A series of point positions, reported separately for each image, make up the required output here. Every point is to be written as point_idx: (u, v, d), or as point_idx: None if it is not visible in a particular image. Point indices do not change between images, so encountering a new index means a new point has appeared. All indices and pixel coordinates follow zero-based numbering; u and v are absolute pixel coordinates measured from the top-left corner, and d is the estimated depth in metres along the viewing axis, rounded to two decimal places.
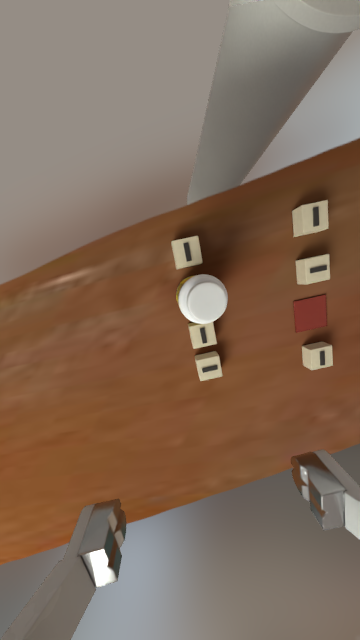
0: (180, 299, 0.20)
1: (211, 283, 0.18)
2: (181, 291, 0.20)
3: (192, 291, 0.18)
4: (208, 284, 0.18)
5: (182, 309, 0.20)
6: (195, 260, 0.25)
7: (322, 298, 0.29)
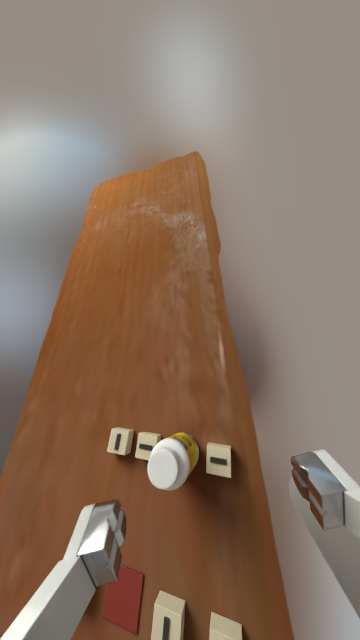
0: (174, 442, 0.25)
1: (175, 478, 0.21)
2: (180, 445, 0.24)
3: (174, 457, 0.22)
4: (175, 475, 0.21)
5: (166, 440, 0.25)
6: (209, 466, 0.28)
7: (133, 625, 0.24)
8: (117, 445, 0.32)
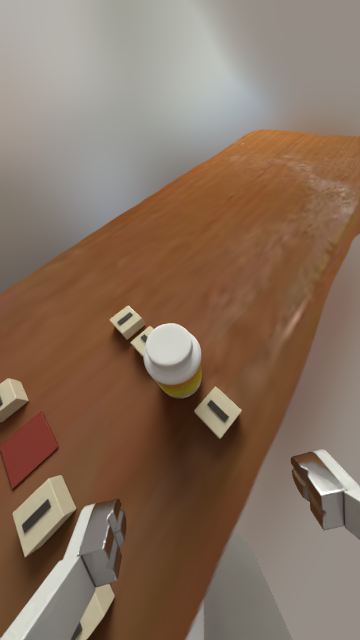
0: (194, 339, 0.18)
1: (176, 362, 0.14)
2: (199, 346, 0.17)
3: (190, 342, 0.15)
4: (179, 359, 0.14)
5: None
6: (203, 407, 0.20)
7: (16, 479, 0.20)
8: (122, 321, 0.27)
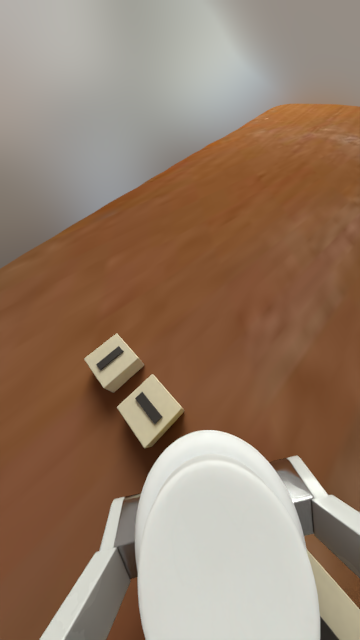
0: (277, 479, 0.06)
1: None
2: (294, 510, 0.06)
3: (311, 582, 0.04)
4: None
5: (249, 450, 0.07)
6: None
7: None
8: (105, 363, 0.16)
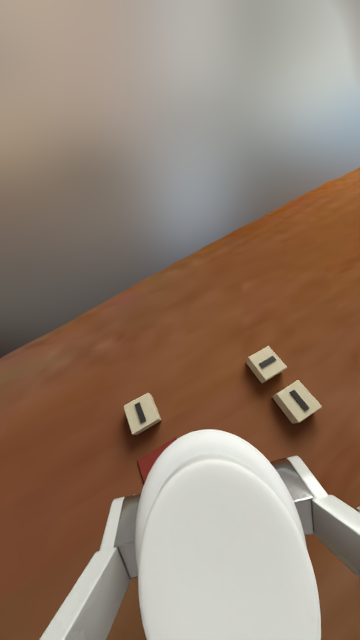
0: (277, 478, 0.06)
1: None
2: (295, 509, 0.06)
3: (311, 580, 0.04)
4: None
5: (250, 449, 0.07)
6: None
7: None
8: (265, 364, 0.25)
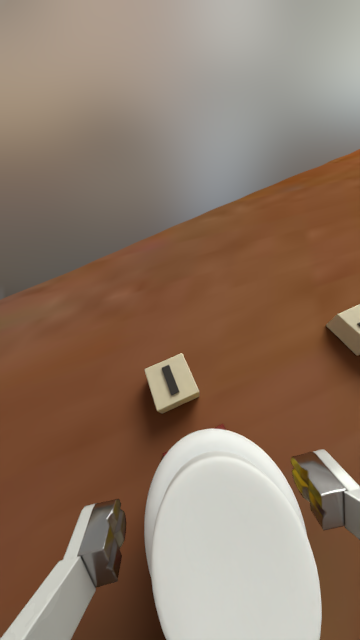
0: (280, 475, 0.07)
1: None
2: (296, 505, 0.06)
3: (312, 568, 0.04)
4: None
5: (253, 447, 0.07)
6: None
7: None
8: None
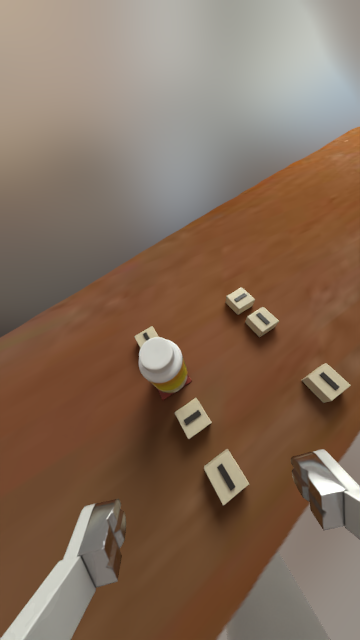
0: (175, 345, 0.23)
1: (163, 365, 0.20)
2: (179, 351, 0.23)
3: (171, 350, 0.21)
4: (164, 363, 0.20)
5: (169, 341, 0.24)
6: (315, 376, 0.25)
7: (164, 395, 0.28)
8: (238, 299, 0.33)
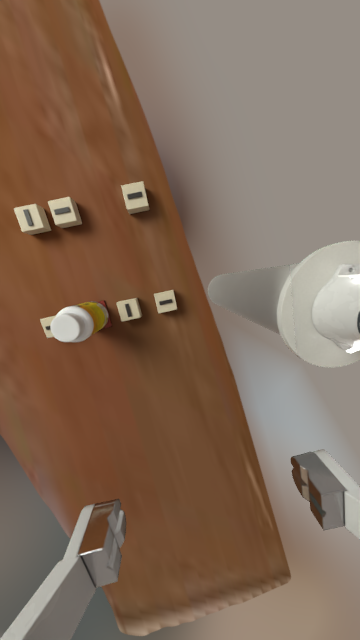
0: (64, 309, 0.27)
1: (78, 325, 0.25)
2: (70, 307, 0.27)
3: (66, 315, 0.25)
4: (76, 324, 0.25)
5: (58, 313, 0.27)
6: (128, 203, 0.30)
7: (108, 324, 0.36)
8: (30, 221, 0.29)
